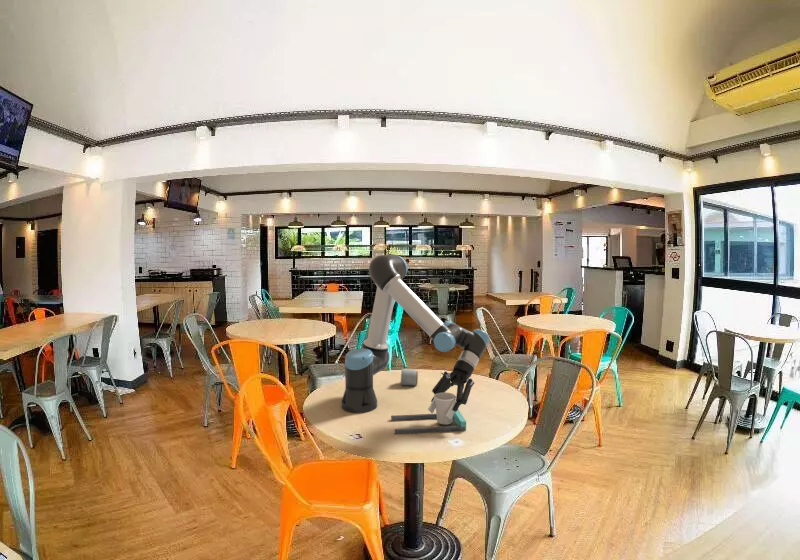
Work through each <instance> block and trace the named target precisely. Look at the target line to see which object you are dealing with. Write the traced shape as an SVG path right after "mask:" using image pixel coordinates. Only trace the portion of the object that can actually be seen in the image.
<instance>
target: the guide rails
mask: <svg viewBox="0 0 800 560" xmlns="http://www.w3.org/2000/svg"><path fill="white" fill-rule="evenodd" d="M390 417H391V418H390V419H391V421H411V420H413V421H414V420H415V421H416V420H429V419H430V420H432V419H436V420H437V414H436V413H421V414H400V415H399V414H398V415H396V414H395V415H391V416H390ZM461 431H462V432H465V427H461V426H458V425H445V426H444V425H443V426H441V425H440V426H427V427H425V426H423V427H405V428H404V427H403V428H401V427H400V428H394V435H404V434H405V435H407V434H423V433H424V434H425V433H442V432H443V433H444V432H461Z"/></svg>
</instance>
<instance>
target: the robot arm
mask: <svg viewBox="0 0 800 560" xmlns="http://www.w3.org/2000/svg"><path fill="white" fill-rule="evenodd" d="M368 273H369V274H368V275H369V276H370V279H371V280H372V281H373V283H374V285H376V291H375V296H374V302H373V307H372V312H371V313H372V314H371V318H370V323H369V327H368V328H369V329H368V334H367V338H366V339H364V340H363V342H362V346H361V347H362V348H356V349H352V350H349V351H348V352H347V353H346V354H345V358H344V359H345V360H344V369H345V370H344V371H345V372H344V373H345V374H344V375H345V376H344V377H345V379H344V380H345V381H344V383H345V386H344V387H345V388H344V389H345V390H344V392H343V394H342V395H343V396H342V398H341V402H340V404H341V409H342V410H344V411H346V412H349V413H356V414H357V413H367V412H371V411H373V410H375V409H376V408H378V399H377V396H376V392H375V390H374V376H375V375H376V374H377V373H379V372H381V371H383V370H384V369H385V368H386V367H387V365H388V364H389V361H390V358H391V357H390V356H391V355H390V351H389V344H388V343H387V341H388V340H387V339H388V334H389V329H390V324H391V319H392V315H393V310H394V309H393V308H394V305H395V302H396V303H397V304H398V305H399V306H400V307H401V308H402V309H403V310H404V311H405V313H406V314H408V316H409V317H411V319H412V320H414V322H415V323H416V324H417V326H419V327H420V328H421V329H422V330H423V331H424V332H425V333H426V334H427V335H428V336H429V337H430V338H431V340H432V341H433V345H434V348H436V350H437V351H439V352H442V353H446V352H447V353H448V352H450V351H451V350H452V349H454V347H455V346H458V347H459V348H462V351H461V353H460V355H459V357H458V359H457V360H456V362H455V364H454V366H453V370H452V371H451V372H447V371H444V372H443V375H442V377H440V379H439V380H438V382H437V383H436V384H435V386H434V387H433V388H432V390H431V392H432V394H433V397H432V399H431V400H430V402H431V403H430V405H429V406H428V408H427V410H428V411H429V412H430V414H434V412H435V411H436V406H435V398H434V395H435V394H437V393H442V392H446V393H447V391H449V389H450V388H451V387H453V386H456V395H455V396H456V399H455V401H453V403H452V405H451V407H450V409H449V411H448V412H447V414H446V417H447V418H448V419H449V420H451V418H452V416H453V414H454V412H456V411H457V410H459V408H460V406H461V405H466V404H467V403H468V399H469V396H470V393H471V390H472V388H473V386H474V384H475V382H474V380H473V379H472V378H471V377H472V374H473V373H474V371H475V369H476V367H477V365H478V364H479V361H480V359H481V357H482V356H483V354H484V352H485V350H486V348H487V346H488V345H489V342H490V335H489V334H488V333H487V332H486V331H484V330H482V329H479V328H476V329H473V331H470V330H468V329H467V328H464V327H462V326H460V325H459V324H456V323H455V322H453V321H450V320H445V321H444V322H443V321H442V320H441V319H440V318H439V317H438V316H437V315H436V314H435V313H434V311H432V310H431V308H429V306H427V305H426V304H425V302H424V301H423V300H422V299H420V297H419V296H418V295H417V294H416V293H415V292H413V290H412V289H411V288H410V287H409V286H408V285H407V284H406V283H405V282H404V281H403V279H404V278H405V277H406V275H407V273H408V264H407V262H406V260H405V259H404V258H403V257H402V256H400V255H399V254H393V253H391V254H381V255H377V256H375V257H374V258H373V259H372V260H371V262H370V263H369V266H368Z"/></svg>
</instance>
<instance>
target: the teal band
mask: <svg viewBox="0 0 800 560" xmlns="http://www.w3.org/2000/svg"><path fill="white" fill-rule="evenodd" d="M452 420H454V422H455V423H456V426H461V427H465V431H467V420H466V419H465V417H464V416H463V414H462V413H461V411H460V409H458V410H457V411H456V412H454V414H453V419H452ZM465 431H464V432H465Z"/></svg>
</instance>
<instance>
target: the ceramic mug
mask: <svg viewBox="0 0 800 560" xmlns="http://www.w3.org/2000/svg"><path fill="white" fill-rule="evenodd" d="M418 380H419V372H418V370H415V369H406V368H401V374H400V385H401V386H417V385H418V382H419V381H418Z"/></svg>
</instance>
